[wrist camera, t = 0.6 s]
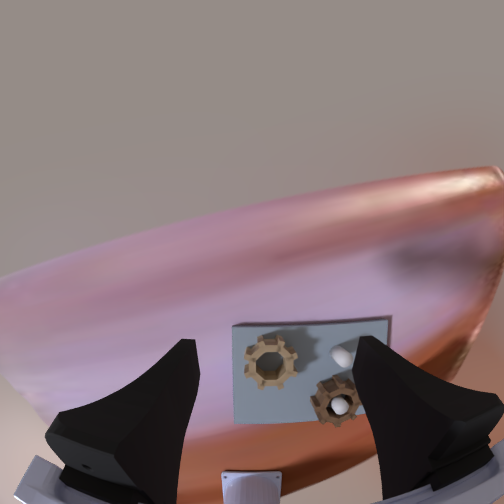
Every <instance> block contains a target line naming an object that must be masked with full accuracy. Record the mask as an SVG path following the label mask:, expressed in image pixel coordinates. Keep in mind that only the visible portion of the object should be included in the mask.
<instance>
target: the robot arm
mask: <svg viewBox="0 0 504 504" xmlns="http://www.w3.org/2000/svg"><path fill="white" fill-rule="evenodd" d="M352 375H353V379H354V383H355V387H356V390H357V393H358V395H359V398H360V400H361V403H362V405H363V408H364V410H365V413H366V415H367V418H368V420H369V423H370V426H371V429H372V432H373V436H374V440H375V444H376V449H377V454H378V459H379V465H380V473H381V481H382V495H383V501H379V502H375V503H372V504H492V503H493V502H495V501H496V500H498V499H499V498H500V497H501V496H503V495H504V439H503V440H501V441H500V442H498V443H497V444H496V445H494V446H493V447H492V448H491V449H490V448H489V446H488V444H489V443H490V441H491V440H490V438H489V436H488V435H489V434H490V432H491V431H492V430H493V428H494V427H495V426H496V424H497V423H498V422H499V420H500V419H501V417H502V415H503V413H504V404H503V403H502V401H501V400H500V399H499V397H498V396H497V395H496V394H494V393H487V392H480V391H475V390H471V389H467V388H463V387H460V386H457V385H454V384H452V383H449V382H446V381H444V380H442V379H439V378H437V377H435V376H433V375H431V374H429V373H427V372H425V371H424V370H422V369H420V368H418V367H417V366H415V365H414V364H412V363H410V362H409V361H407V360H406V359H405V358H403V357H402V356H400V355H399V354H397V353H396V352H395V351H393V350H392V349H391V348H389V347H388V346H387V345H385V344H384V343H383V342H381V341H380V340H378V339H377V338H375V337H374V336H372V335H370V336H360V338H359V342H358V347H357V351H356V355H355V359H354V363H353V367H352ZM199 380H200V369H199V363H198V356H197V349H196V342H195V340H194V339H181V340H180V341H179V342H178V343H177V344H176V345H175V346H174V347H173V348H171V349H170V350H169V351H168V352H167V353H166V354H165V355H164V356H163V357H162V358H161V359H160V360H159V361H158V362H157V363H156V364H155V365H153V366H152V367H151V368H150V369H149V370H147V371H146V372H145V373H144V374H142V375H141V376H140V377H139V378H137V379H136V380H134V381H133V382H131V383H130V384H128V385H127V386H125V387H123V388H122V389H120V390H118V391H116V392H114V393H112V394H110V395H108V396H107V397H105V398H102V399H100V400H98V401H95V402H93V403H90V404H87V405H84V406H81V407H78V408H74V409H70V410H67V411H62V412H59V414H58V415H57V416H56V418H55V419H54V421H53V423H52V424H51V426H50V427H49V429H48V430H47V432H46V434H45V438H46V441H47V443H48V445H49V446H50V447H51V449H52V450H53V451H54V452H55V453H56V455H57V456H58V457H59V458H60V459H61V460H62V461H63V462H64V464H65V467H64V469H63V470H62V469H61V468H59V467H58V466H56V465H55V464H53V463H51V462H49V461H47V460H45V459H43V458H41V457H39V456H37V455H36V456H35V457H34V459H33V460H32V462H31V464H30V466H29V467H28V469H27V471H26V473H25V474H24V476H23V478H22V480H21V482H20V483H19V485H18V487H17V489H16V491H15V493H14V497H15V498H17V499H18V500H19V501H20V502H22V503H23V504H176V500H177V487H178V477H179V469H180V461H181V454H182V448H183V442H184V437H185V433H186V429H187V426H188V423H189V419H190V416H191V413H192V410H193V406H194V403H195V400H196V396H197V392H198V386H199ZM221 476H222V487H223V498H224V504H279V503H280V493H281V480H282V473H281V472H280V471H270V472H232V471H223V472H222V474H221ZM224 476H226V477H224ZM277 476H279V477H277Z"/></svg>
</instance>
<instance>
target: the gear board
mask: <svg viewBox="0 0 504 504" xmlns="http://www.w3.org/2000/svg"><path fill="white" fill-rule="evenodd" d="M387 330H388V320H386V319H378V320H367V321H355V322H341V323H325V324H303V325H265V326H232V361H233V405H234V424H270V423H291V422H305V421H315V420H318V418H317V415H316V413H315V411H314V408H313V406H312V404H311V402H310V396H315V394H316V392H317V390H318V387H317V386H316V384H317V383H318V382H319V381H320V382H321V383H322V384H323V383H325V382H328V381H330V380H332V375H338V376H339V377H340V378H341V379H342V381H346V380H347V379H348V378H349V379H350V380H351V381H352V382H353V383H354V379H353V375H352V367H353V363H354V359H355V355H356V351H357V347H358V342H359V338H360V336H370V335H372V336H374V337H375V338H377V339H378V340H380V341H381V342H383V343H384V344H385V345H387ZM260 335H263V338H264V339H275V338H276V335H279V336H282V337H283V339H284V341H285V344H284V345H285V346H286V347H287V348H288V347H291V346H292V347H293V348H294V350H295V352H296V353H297V356H298V358H297V359H295V360H294V363H293V364H294V366H295V368H296V370H297V372H298V373H297V375H296V377H292V376H290V377H289V378H288V379H287V380H286V381H285V382H284V383H283V386H284V388H283V389H280V390H278V388H277V386H265V388H264V390H260V389H258V388H257V382H256V381H255V380H254V379H253V378H252V377H250V378H247V379H246V377H245V375H244V368H245V365H246V364H249V361H247V360H245V359H244V353H245V350H246V347H249V348H252V347H253V346H254V345H255V344H256V343H257V337H258V336H260ZM282 364H283V356H282V355H281V354H279V353H278V352H265V353H263V354H262V355H261V356H260V357H259V358H258V359H257V360H256V365H258V366H259V367H260V368H261V369H262V370H263V371H275V370H276V369H277V368H278V367H279V366H280V365H282ZM354 384H355V383H354ZM357 394H358V393H357ZM345 396H346V394H339V395H337V396H335V397H333V398H331V400H330V401H329V403H328V405H327V407H330V408H333V410H334V411H335V413H336V414H339V415H341V414H344V413H346V412H347V410H348V408H349V405H348V403H347V402H346V401H345V400H344V398H345ZM359 414H365V410H364V408H363V405H361V406H359V407H358V409H357V411H356V413H355V415H359Z"/></svg>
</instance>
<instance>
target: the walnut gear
mask: <svg viewBox="0 0 504 504" xmlns="http://www.w3.org/2000/svg"><path fill="white" fill-rule="evenodd" d="M316 386H317V387H318V390H317V392H316V394H315V396H310V402H311V404H312V406H313V408H314V411H315V413H316V415H317V418H318V420H319V422H320V423H322V424H325V423H326V422H330V423H333V424H334V426H335V427H340V426H341V423H342V422H344V421H346V420H348V419H350V418H351V419H352V420H354V419H355V418H356V417H357V416H356V415H355V413H356V411H357V409H358V407H359V406H361V405H362V403H361V400H360V398H359V395H358V394H357V390H356V387H355V384H354V383H353V382H352V381H351V380H350V379H349V378H348V379H347V380H346V381H342V379H341V378H340V377H339V376H338V375H332V380H330V381H328V382H325V383H323V384H322V383H321V382H320V381H319V382H318V383H317V384H316ZM339 394H346V396H345V398H344V400H345V401H346V402H347V403H348V405H349V408H348V410H347V412H346V413H344V414H341V415H339V414H336V413H335V411H334V410H333V408H330V407H327V405H328V403H329V401H330V400H331V398H333V397H335V396H337V395H339Z"/></svg>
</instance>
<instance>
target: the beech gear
mask: <svg viewBox="0 0 504 504" xmlns="http://www.w3.org/2000/svg"><path fill="white" fill-rule="evenodd" d="M284 344H285V341H284V339H283V337H282V336H279V335H276V338H275V339H264V338H263V335H260V336H258V337H257V343H256V344H255V345H254V346H253V347H252V348H249V347H246V350H245V353H244V359H245V360H247V361H249V364H246V365H245V368H244V375H245V377H246V379H247V378H250V377H252V378H253V379H254V380H255V381H256V382H257V388H258V389H260V390H264V388H265V386H277V388H278V390H280V389H283V388H284V386H283V383H284V382H285V381H286V380H287V379H288V378H289V377H290V376H292V377H296V375H297V373H298V372H297V370H296V368H295V366H294V364H293V363H294V360H295V359H297V358H298V356H297V353H296V352H295V350H294V348H293V347H292V346H291V347H288V348H287V347H286V346H285V345H284ZM265 352H278V353H279V354H281V355H282V356H283V364H282V365H280V366H279V367H278V368H277V369H276V370H275V371H263V370H262V369H261V368H260V367H259V366H258V365H256V360H257V359H258V358H259V357H260V356H261V355H262V354H263V353H265Z"/></svg>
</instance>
